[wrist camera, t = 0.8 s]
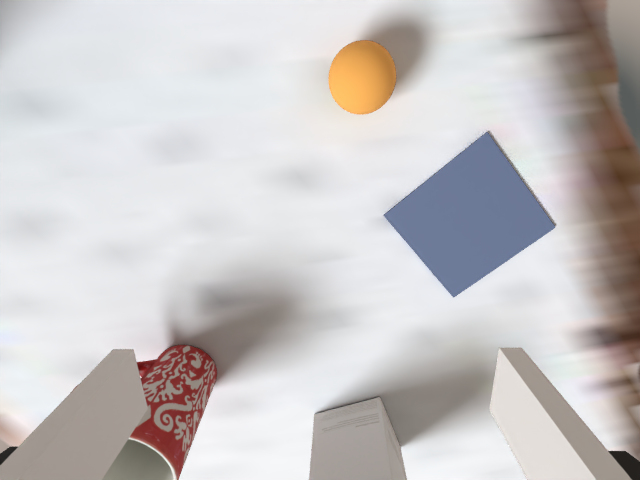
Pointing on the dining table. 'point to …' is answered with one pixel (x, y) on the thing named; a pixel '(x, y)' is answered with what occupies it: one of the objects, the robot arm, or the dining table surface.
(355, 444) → the supplement box
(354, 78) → the ball
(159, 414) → the mug
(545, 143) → the dining table surface
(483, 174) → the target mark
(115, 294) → the dining table surface
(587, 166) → the dining table surface
